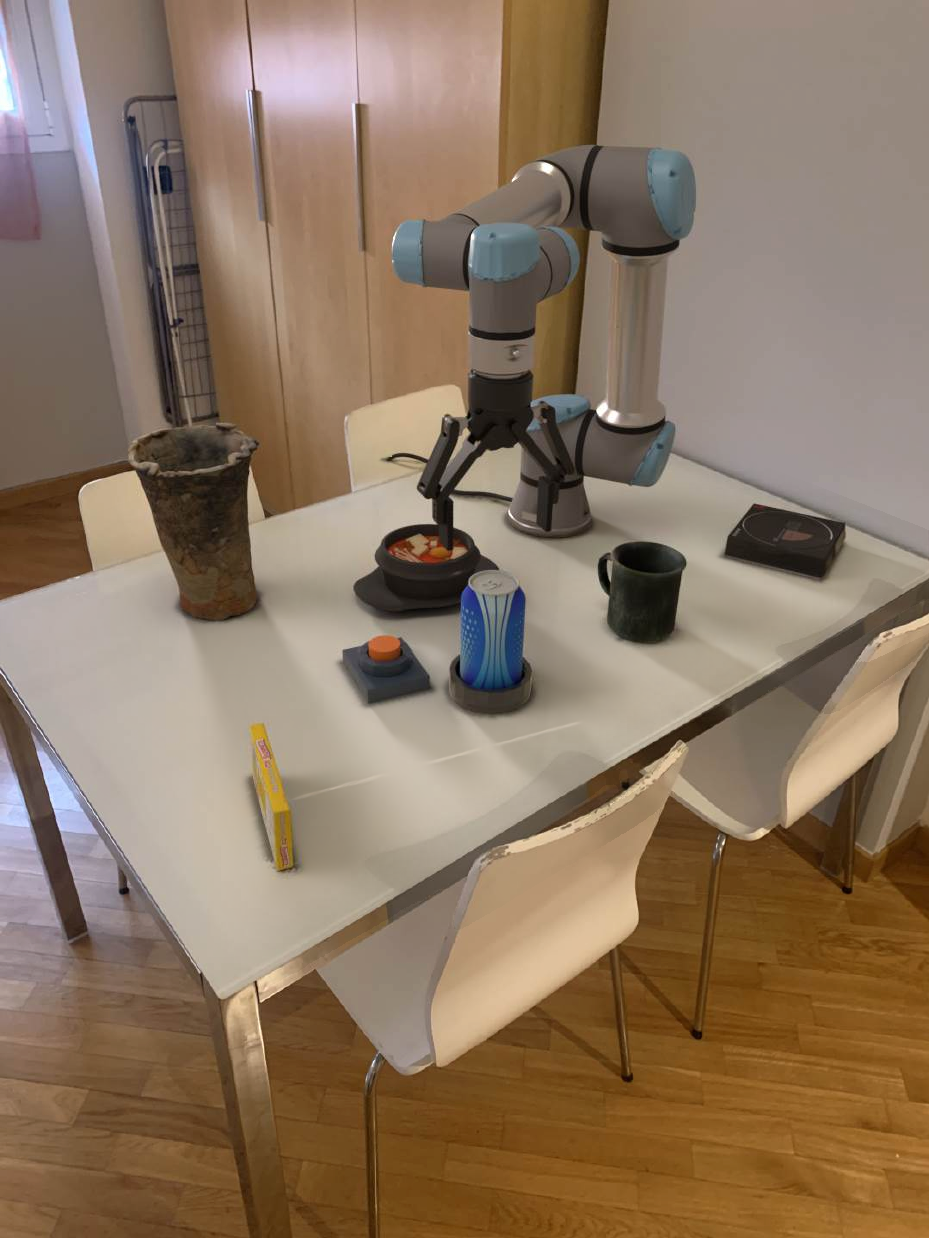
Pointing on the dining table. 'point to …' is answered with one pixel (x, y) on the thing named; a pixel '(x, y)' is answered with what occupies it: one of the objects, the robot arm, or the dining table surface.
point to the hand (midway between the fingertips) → (495, 536)
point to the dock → (489, 692)
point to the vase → (201, 513)
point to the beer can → (492, 630)
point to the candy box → (271, 797)
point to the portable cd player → (786, 541)
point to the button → (384, 648)
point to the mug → (642, 589)
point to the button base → (385, 673)
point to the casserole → (421, 569)
